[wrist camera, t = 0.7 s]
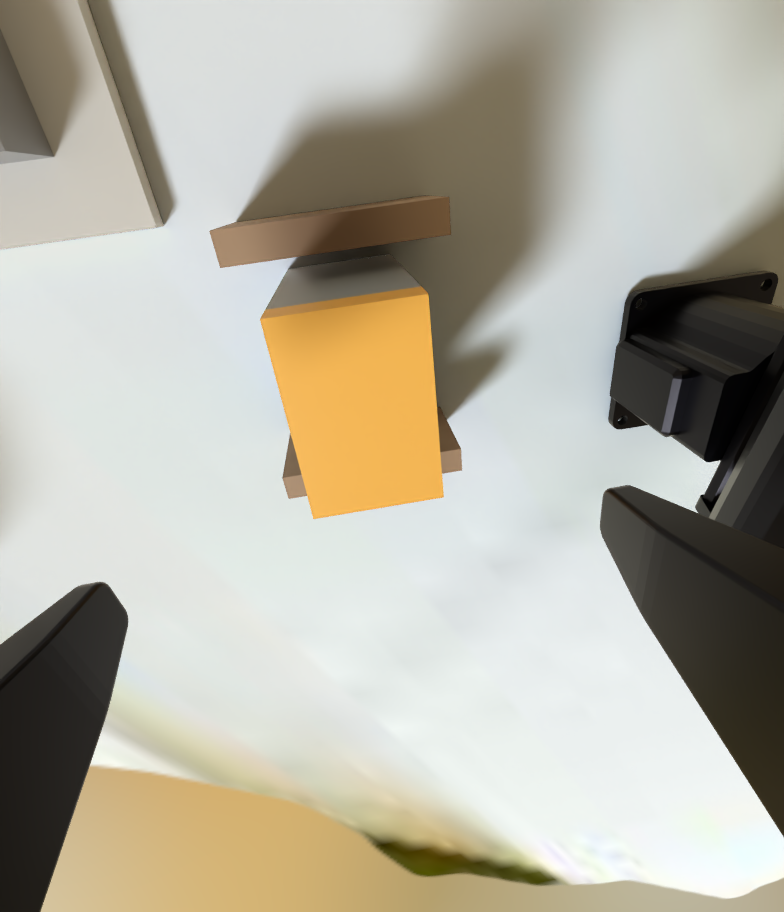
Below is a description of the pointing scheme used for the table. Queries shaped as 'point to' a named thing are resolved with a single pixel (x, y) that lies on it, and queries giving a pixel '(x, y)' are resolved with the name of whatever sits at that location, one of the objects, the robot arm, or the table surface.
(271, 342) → the plug
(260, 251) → the wooden blocks
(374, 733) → the table surface
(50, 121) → the dock
